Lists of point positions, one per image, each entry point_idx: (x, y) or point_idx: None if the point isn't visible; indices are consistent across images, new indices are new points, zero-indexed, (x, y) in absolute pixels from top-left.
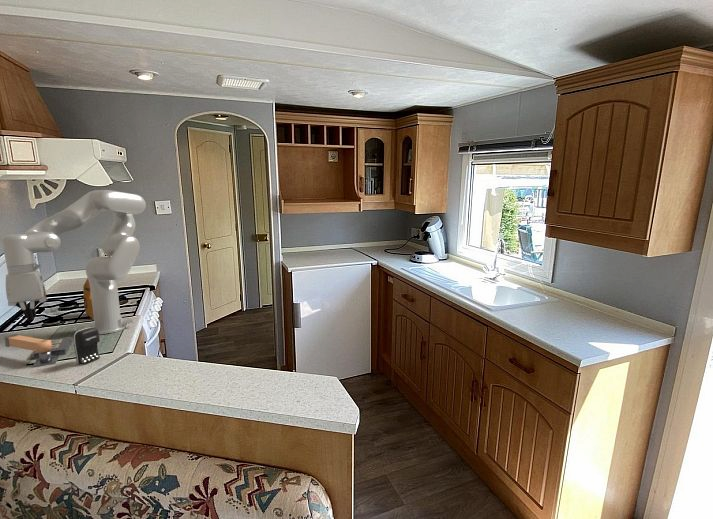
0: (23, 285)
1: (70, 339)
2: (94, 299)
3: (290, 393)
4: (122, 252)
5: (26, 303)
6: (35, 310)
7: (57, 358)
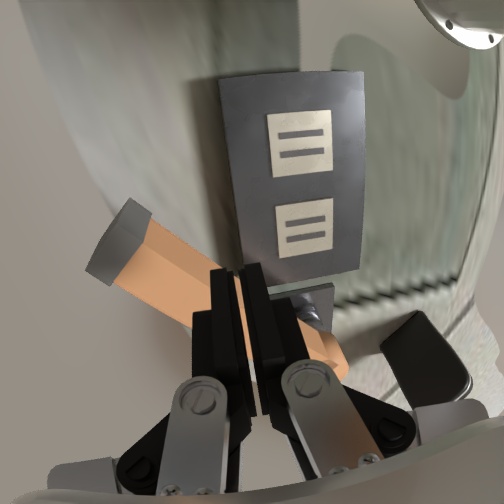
0: None
1: (363, 114)
2: None
3: (494, 408)
4: None
5: (226, 447)
6: (303, 340)
7: (332, 306)
